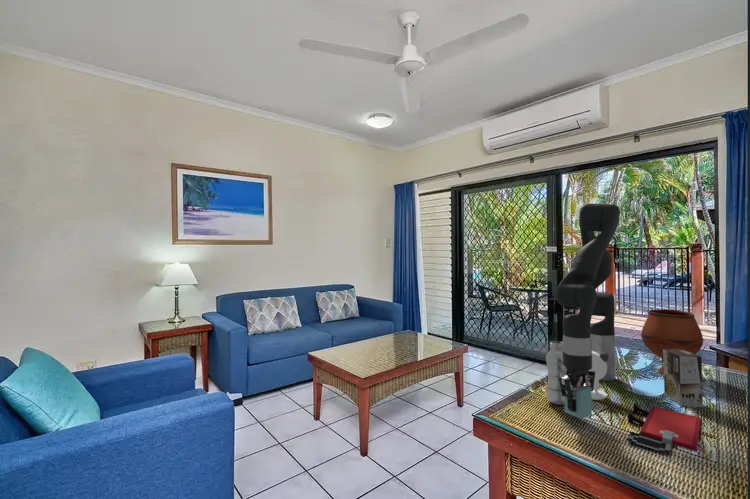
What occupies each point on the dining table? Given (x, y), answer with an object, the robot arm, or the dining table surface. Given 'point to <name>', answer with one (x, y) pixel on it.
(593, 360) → the white round-based fixture
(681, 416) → the red board with handle
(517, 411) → the dining table surface
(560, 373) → the plastic bottle
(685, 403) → the coffee box
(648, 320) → the terracotta clay pot
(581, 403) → the teal block
